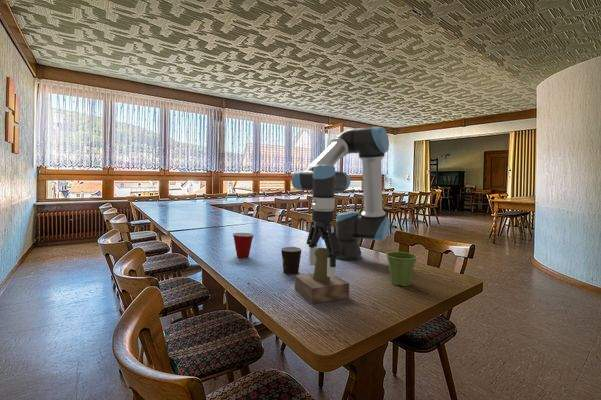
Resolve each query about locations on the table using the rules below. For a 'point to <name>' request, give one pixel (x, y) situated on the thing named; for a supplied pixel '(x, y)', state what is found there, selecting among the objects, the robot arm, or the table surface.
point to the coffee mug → (291, 259)
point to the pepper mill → (321, 265)
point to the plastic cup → (243, 244)
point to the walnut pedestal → (321, 288)
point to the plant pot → (401, 267)
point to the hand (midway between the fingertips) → (321, 270)
